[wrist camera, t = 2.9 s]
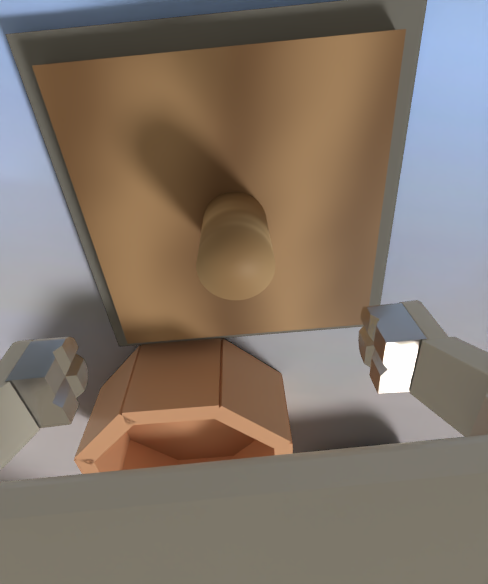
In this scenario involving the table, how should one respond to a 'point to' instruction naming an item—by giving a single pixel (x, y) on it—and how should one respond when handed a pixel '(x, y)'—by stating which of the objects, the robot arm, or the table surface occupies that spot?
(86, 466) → the bowl
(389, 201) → the mat
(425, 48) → the table surface
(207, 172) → the lid
